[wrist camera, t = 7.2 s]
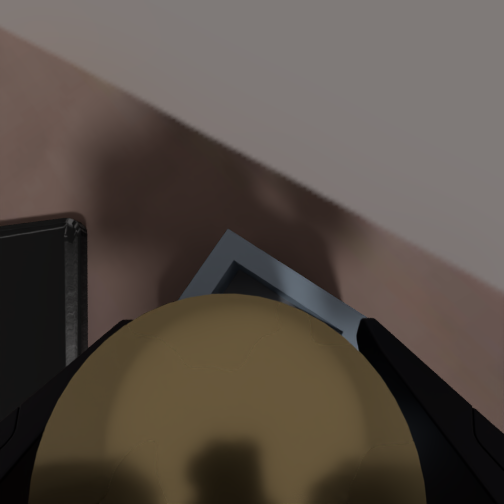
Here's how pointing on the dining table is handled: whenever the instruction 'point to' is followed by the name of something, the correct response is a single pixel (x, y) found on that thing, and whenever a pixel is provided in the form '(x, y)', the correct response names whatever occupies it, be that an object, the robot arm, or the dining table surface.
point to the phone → (40, 305)
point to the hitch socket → (269, 284)
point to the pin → (226, 415)
